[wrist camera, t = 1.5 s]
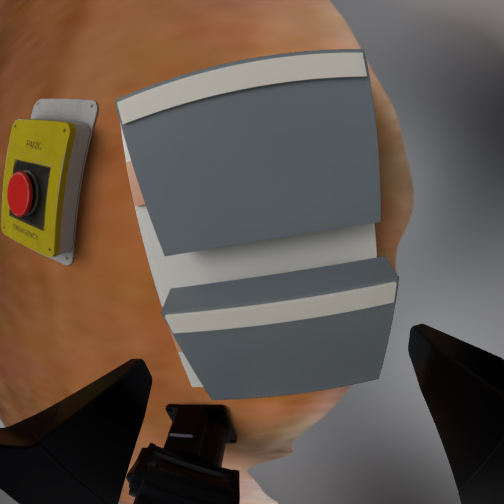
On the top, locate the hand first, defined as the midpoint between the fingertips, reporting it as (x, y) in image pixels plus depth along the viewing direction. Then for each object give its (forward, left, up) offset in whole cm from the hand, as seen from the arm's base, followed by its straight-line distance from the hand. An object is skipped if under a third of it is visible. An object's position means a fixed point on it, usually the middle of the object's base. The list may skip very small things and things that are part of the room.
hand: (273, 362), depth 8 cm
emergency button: (+10, +19, -13) cm, 25 cm away
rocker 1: (+7, 0, -7) cm, 10 cm away
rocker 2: (-4, 0, -7) cm, 8 cm away
